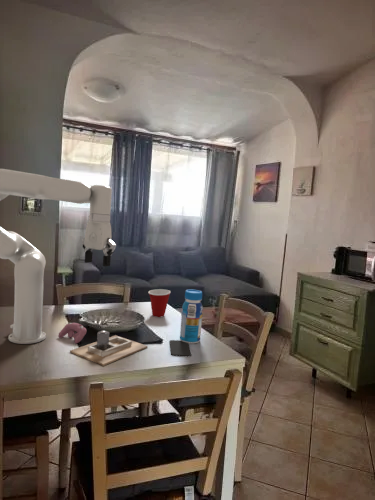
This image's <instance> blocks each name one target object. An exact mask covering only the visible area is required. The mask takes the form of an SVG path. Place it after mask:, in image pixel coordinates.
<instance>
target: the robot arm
mask: <svg viewBox="0 0 375 500" xmlns="http://www.w3.org/2000/svg"><path fill="white" fill-rule="evenodd" d="M112 193H113V192H112V188H111V187H110V186H107V185H102V184H101V185H100V184H94V185H90V184H87V183H84V182H82V181H78V180H77V181H76V180H71V179H70V180H69V179H64V178H58V177H51V176H47V175H43V174H37V173H30V172H26V171H25V172H24V171H19V170H13V169H9V168H8V169H7V168H6V169H5V168H0V202H1V201H2V200H4V199H6V198H7V197H8V196H15V197H16V196H17V197H23V198H29V199H35V200H51V201H52V200H53V201H59V202H65V203H74V204H79V205H81V204H89V205H90V206H89V215H88V217H89V218H88V220H89V221H87V224H86V228H85V233H84V238H82V239H81V244H82V248H83V252H84V263H85V264H87V263H92V262H93V250H97V251H102V252H103V254H104V255H103V257H102V259H103V260H102V267H110V266H111V257H112V256H113V253H114V252H115V250H116V248H117V243H115V242H114V241H113V240H112V226H111V225H112V223H111V211H112V210H111V207H112ZM0 259H1V260H9V261H10V262H12V263H13V264H14V269H13V273H14V274H13V275H14V302H13V303H14V305H13V323H12V324H10V325H9V328H10V329H12V333H10V334H9V335H8V341H9V342H10V343H13V344H20V345H28V344H37V343H39V342H42V341H44V340H45V339H46V338H47V333H46V332H44V331H42V329H43V307H44V306H43V305H44V303H43V302H44V274H45V267H46V264H47V261H46V260H47V259H46V257H45V255H44V254H43V253H42V252H41V251H40V250H39V249H37V248H36V247H35V246H34V245H33V244H32V243H30V242H29V241H28V240H26V239H25V238H24V237H23V236H21V234H19V233H17V232H15V231H12V230H6V229H4V228H3V227H2V226H0Z"/></svg>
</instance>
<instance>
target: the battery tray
mask: <svg viewBox="0 0 375 500" xmlns="http://www.w3.org/2000/svg"><path fill="white" fill-rule="evenodd" d="M147 348H148V345H146V344H143V343H141V342H137V341H134V340H131V339H127V338H125V337H122V336H118V335H116V334H115V335H112V336H109V348H108V349H107V350H104V351H102V350H99V349H97V341H95V342H92V343H88V344H86V345H82V346H80V347H77V348H74V349H70V350H69V352H70V353H71V354H73V355H76V356H78V357H81V358H84V359H85V360H87V361H90V362H93V363H95V364H98V365H100V366H103V367H105V366H106V365H109V364H111V363H114V362H115V361H119V360H122V359H123V358H125V357H126V358H127V357H128V356H131V355H133V354H136V353H138V352H140V351H143V350H145V349H147Z"/></svg>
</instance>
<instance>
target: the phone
mask: <svg viewBox="0 0 375 500" xmlns="http://www.w3.org/2000/svg"><path fill="white" fill-rule="evenodd" d="M190 347H191V346H190V343H186V342H183V341H181V340H180V339H179V340H177V339H176V340H175V339H172V340H169V351H170V356H172V357H185V356H187V357H188V356H190V357H192V351H191V348H190Z"/></svg>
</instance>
